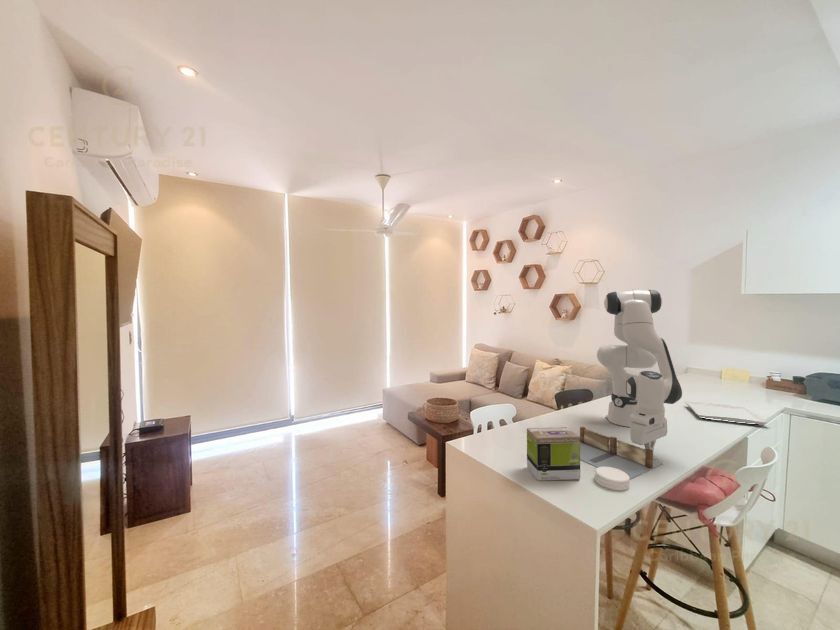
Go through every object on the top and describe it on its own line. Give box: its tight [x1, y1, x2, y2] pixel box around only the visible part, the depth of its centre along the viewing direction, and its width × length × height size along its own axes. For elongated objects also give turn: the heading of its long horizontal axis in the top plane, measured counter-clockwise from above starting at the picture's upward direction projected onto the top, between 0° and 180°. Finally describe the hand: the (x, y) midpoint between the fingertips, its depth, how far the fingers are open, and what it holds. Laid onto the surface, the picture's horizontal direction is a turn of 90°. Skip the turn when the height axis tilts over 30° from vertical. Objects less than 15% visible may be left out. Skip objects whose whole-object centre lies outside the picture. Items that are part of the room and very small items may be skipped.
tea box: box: [526, 426, 581, 481], centre depth 117 cm, size 15×10×15 cm
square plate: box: [684, 401, 769, 426], centre depth 181 cm, size 27×27×4 cm
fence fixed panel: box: [579, 426, 618, 455], centre depth 139 cm, size 2×15×6 cm, turn 31°
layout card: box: [580, 442, 664, 480], centre depth 131 cm, size 24×28×1 cm
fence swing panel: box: [616, 439, 654, 469], centre depth 126 cm, size 13×2×6 cm, turn 31°
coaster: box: [594, 467, 631, 492], centre depth 112 cm, size 10×10×4 cm
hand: (649, 451), depth 128 cm, fingers closed
